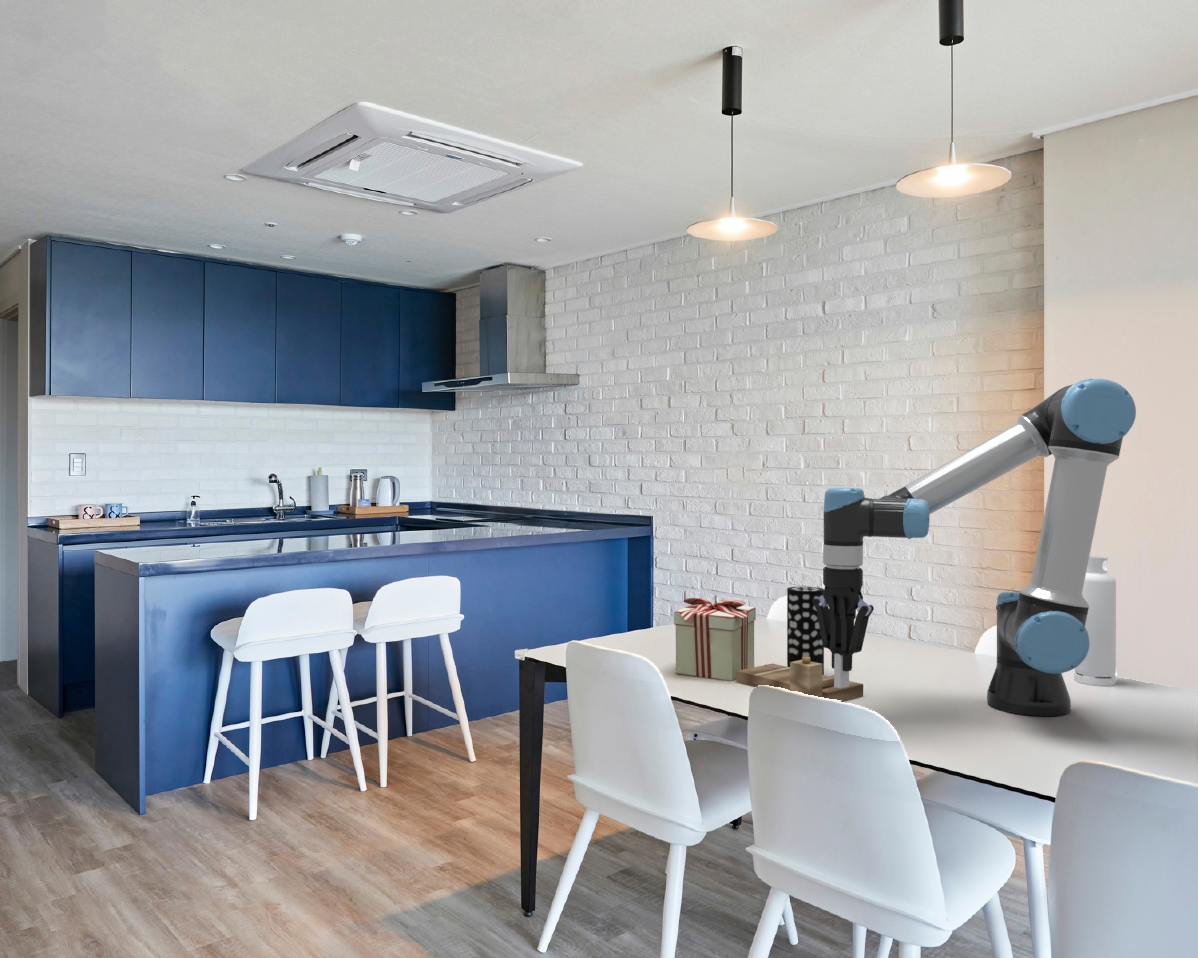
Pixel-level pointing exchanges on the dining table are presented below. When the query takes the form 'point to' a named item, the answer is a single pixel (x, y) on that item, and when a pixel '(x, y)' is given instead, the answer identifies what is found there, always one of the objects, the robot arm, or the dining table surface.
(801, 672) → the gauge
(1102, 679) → the bottle
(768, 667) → the board
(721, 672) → the gift box
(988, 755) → the dining table surface
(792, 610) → the spotted tube
